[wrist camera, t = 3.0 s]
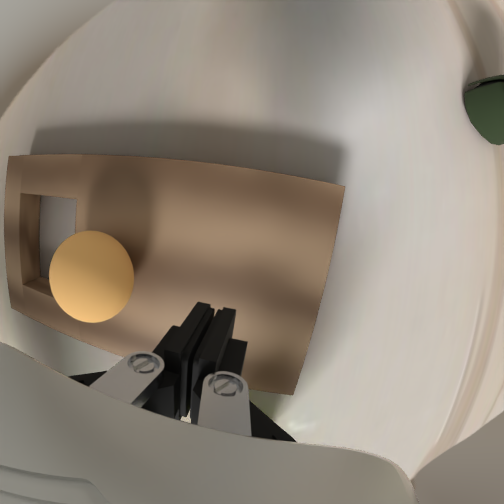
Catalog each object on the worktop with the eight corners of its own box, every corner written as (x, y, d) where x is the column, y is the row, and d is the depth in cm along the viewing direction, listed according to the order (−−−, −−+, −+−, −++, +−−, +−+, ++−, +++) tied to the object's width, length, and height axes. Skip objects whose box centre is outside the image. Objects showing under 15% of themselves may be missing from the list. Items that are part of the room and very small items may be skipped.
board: (291, 373, 23) (293, 395, 20) (28, 299, 25) (11, 307, 22) (335, 187, 20) (345, 186, 17) (28, 157, 21) (8, 156, 18)
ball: (147, 311, 20) (106, 351, 14) (84, 293, 20) (37, 321, 14) (151, 231, 18) (103, 249, 13) (84, 220, 19) (30, 231, 13)
